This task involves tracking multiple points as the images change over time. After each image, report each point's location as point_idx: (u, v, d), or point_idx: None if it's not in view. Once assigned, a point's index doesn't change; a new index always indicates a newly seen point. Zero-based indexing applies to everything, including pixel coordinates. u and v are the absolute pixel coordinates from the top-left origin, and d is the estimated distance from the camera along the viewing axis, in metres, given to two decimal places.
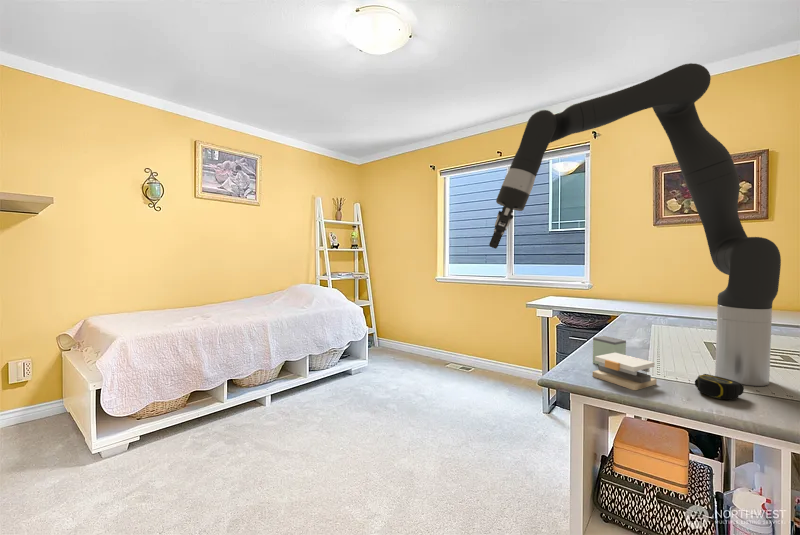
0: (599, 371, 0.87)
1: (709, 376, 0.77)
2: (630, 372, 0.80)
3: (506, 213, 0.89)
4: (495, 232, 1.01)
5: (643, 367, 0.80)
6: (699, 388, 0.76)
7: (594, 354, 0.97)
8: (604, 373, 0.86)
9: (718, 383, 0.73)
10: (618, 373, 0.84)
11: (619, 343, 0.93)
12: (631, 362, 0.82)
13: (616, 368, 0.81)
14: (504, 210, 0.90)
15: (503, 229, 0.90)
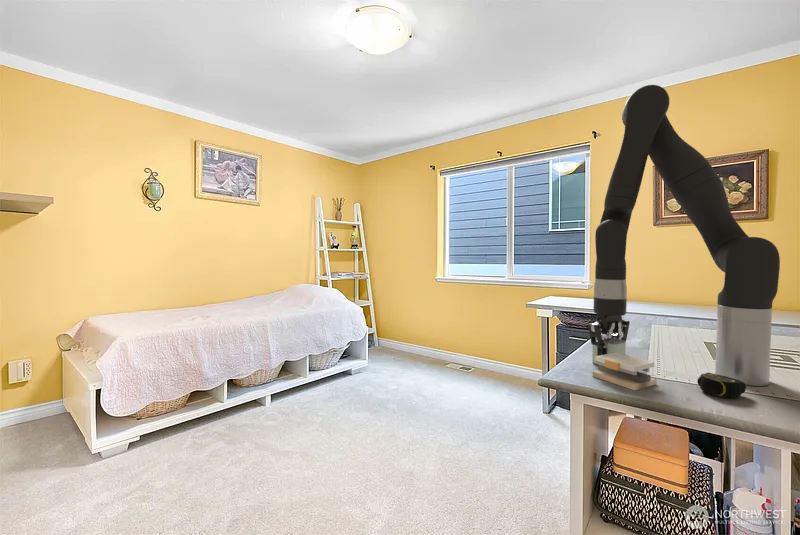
0: (599, 371, 0.87)
1: (712, 375, 0.78)
2: (630, 372, 0.80)
3: (593, 330, 0.93)
4: None
5: (643, 367, 0.80)
6: (702, 386, 0.77)
7: (594, 354, 0.97)
8: (604, 373, 0.86)
9: (721, 381, 0.74)
10: (618, 373, 0.84)
11: (619, 343, 0.93)
12: (631, 362, 0.82)
13: (616, 368, 0.81)
14: (590, 328, 0.94)
15: (598, 345, 0.93)
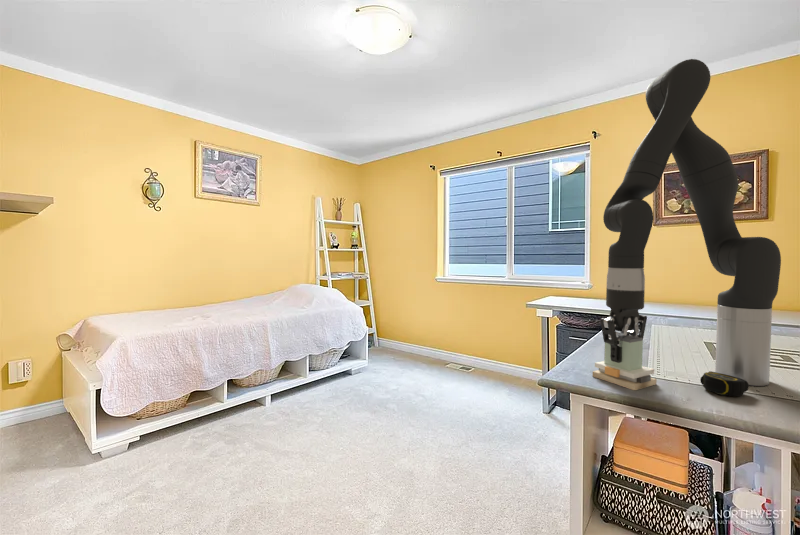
0: (599, 371, 0.87)
1: (714, 373, 0.79)
2: (630, 379, 0.81)
3: (606, 326, 0.81)
4: None
5: (643, 374, 0.80)
6: (705, 385, 0.77)
7: (606, 353, 0.86)
8: (604, 373, 0.86)
9: (723, 380, 0.75)
10: None
11: (635, 341, 0.81)
12: None
13: (616, 375, 0.81)
14: (603, 323, 0.82)
15: (612, 343, 0.81)
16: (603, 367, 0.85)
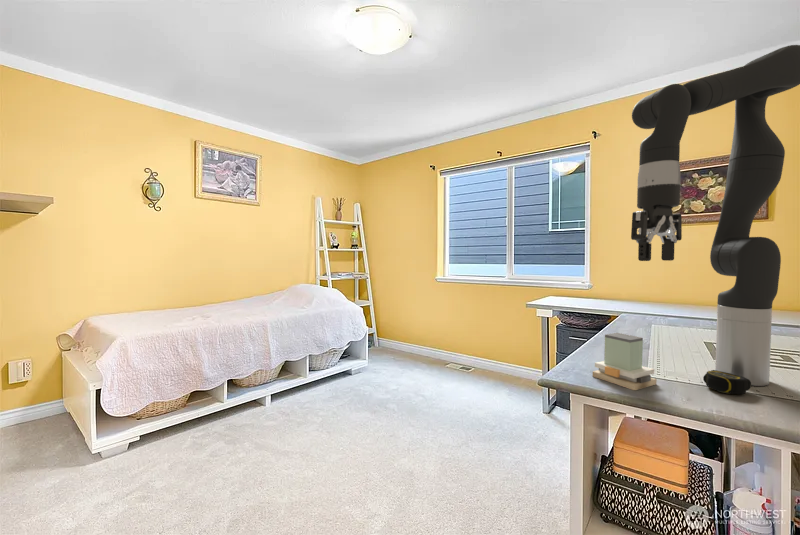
0: (599, 371, 0.87)
1: (717, 372, 0.80)
2: (630, 379, 0.81)
3: (638, 218, 0.75)
4: (663, 241, 0.81)
5: (643, 374, 0.80)
6: (708, 383, 0.78)
7: (606, 353, 0.86)
8: (604, 373, 0.86)
9: (726, 378, 0.76)
10: None
11: (635, 341, 0.81)
12: None
13: (616, 375, 0.81)
14: (634, 216, 0.76)
15: (641, 237, 0.74)
16: (603, 367, 0.85)
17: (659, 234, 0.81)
